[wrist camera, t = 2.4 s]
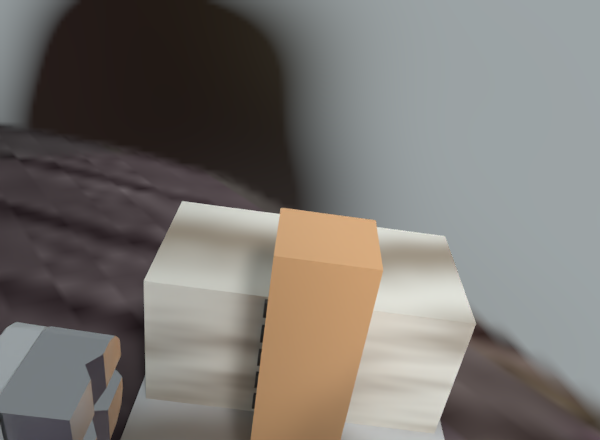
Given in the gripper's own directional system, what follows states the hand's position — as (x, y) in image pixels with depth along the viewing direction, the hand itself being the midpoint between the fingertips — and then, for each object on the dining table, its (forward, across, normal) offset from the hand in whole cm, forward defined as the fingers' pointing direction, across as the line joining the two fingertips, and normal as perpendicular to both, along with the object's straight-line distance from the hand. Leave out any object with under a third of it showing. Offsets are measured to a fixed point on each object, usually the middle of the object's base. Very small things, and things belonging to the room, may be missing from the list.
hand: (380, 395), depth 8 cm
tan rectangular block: (+12, 0, +18) cm, 21 cm away
